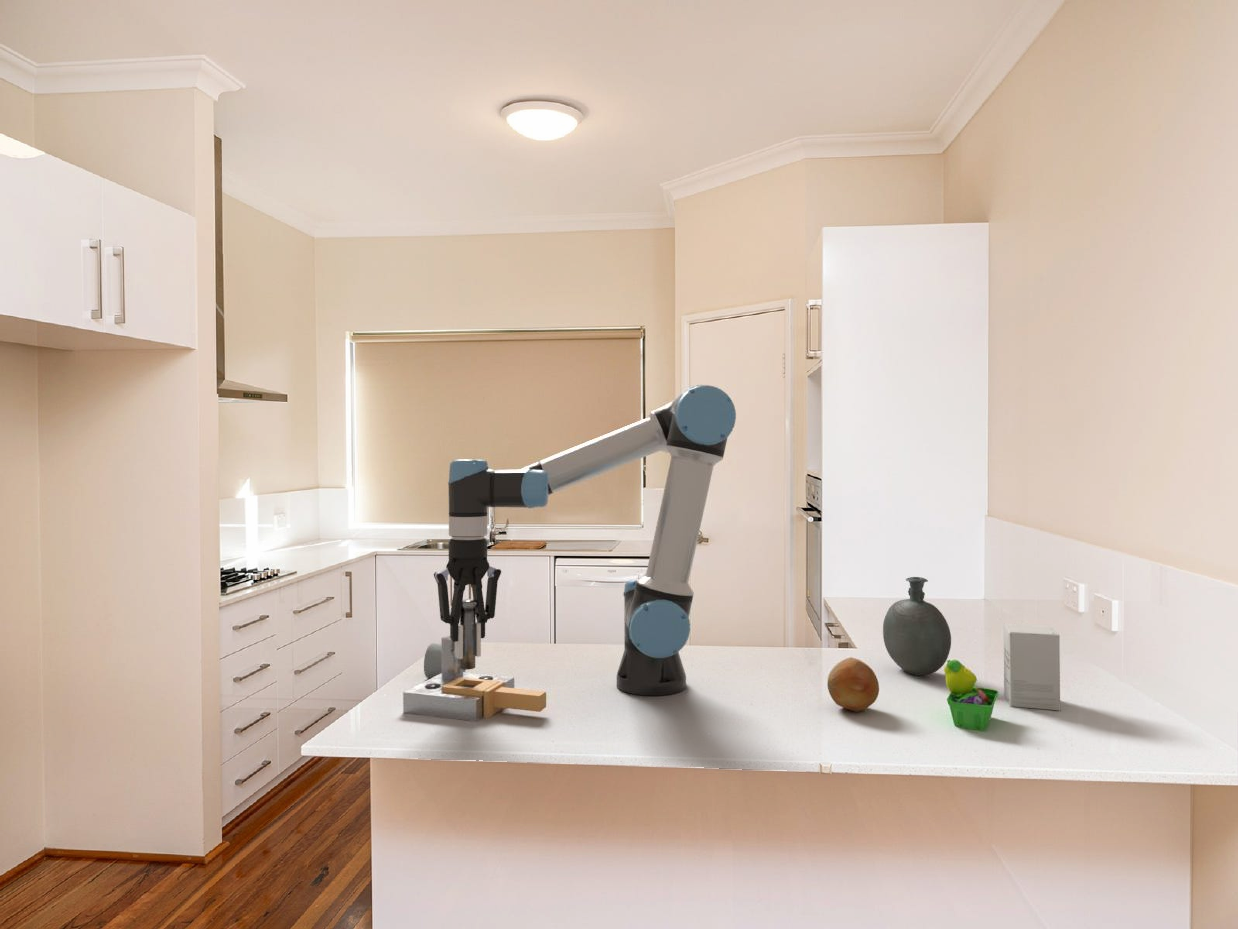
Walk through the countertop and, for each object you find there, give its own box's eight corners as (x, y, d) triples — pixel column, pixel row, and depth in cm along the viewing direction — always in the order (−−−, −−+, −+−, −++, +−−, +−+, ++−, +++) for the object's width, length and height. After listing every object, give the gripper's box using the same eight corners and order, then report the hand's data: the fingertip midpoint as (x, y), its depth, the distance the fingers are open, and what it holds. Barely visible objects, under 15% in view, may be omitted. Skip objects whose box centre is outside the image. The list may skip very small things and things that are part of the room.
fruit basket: (991, 735, 138) (992, 672, 138) (938, 726, 142) (938, 665, 142) (999, 717, 147) (999, 658, 147) (949, 709, 152) (949, 651, 152)
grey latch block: (514, 696, 161) (514, 638, 161) (476, 721, 145) (476, 657, 145) (446, 689, 166) (446, 633, 166) (403, 712, 151) (403, 651, 150)
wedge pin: (464, 664, 155) (464, 598, 155) (480, 666, 154) (481, 599, 154) (454, 669, 151) (454, 601, 151) (471, 670, 150) (471, 603, 150)
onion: (816, 705, 154) (816, 655, 154) (856, 699, 158) (856, 650, 158) (848, 721, 145) (848, 668, 145) (890, 714, 149) (890, 662, 149)
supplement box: (1051, 698, 159) (1051, 625, 159) (1061, 711, 150) (1061, 634, 150) (1002, 693, 162) (1002, 622, 162) (1009, 706, 153) (1009, 631, 153)
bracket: (550, 711, 151) (550, 686, 151) (535, 723, 144) (535, 696, 144) (460, 701, 157) (459, 677, 157) (441, 712, 151) (441, 686, 151)
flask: (909, 685, 168) (909, 584, 168) (875, 664, 185) (876, 572, 185) (960, 683, 169) (960, 583, 169) (922, 663, 186) (922, 571, 186)
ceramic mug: (458, 683, 170) (458, 648, 170) (422, 682, 171) (422, 647, 171) (472, 670, 181) (473, 638, 181) (439, 669, 182) (439, 637, 182)
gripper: (499, 533, 160) (498, 647, 160) (422, 537, 152) (422, 657, 152) (513, 537, 153) (512, 655, 153) (433, 541, 145) (433, 666, 145)
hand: (467, 656), depth 153 cm, fingers closed on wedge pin, 3 cm apart
